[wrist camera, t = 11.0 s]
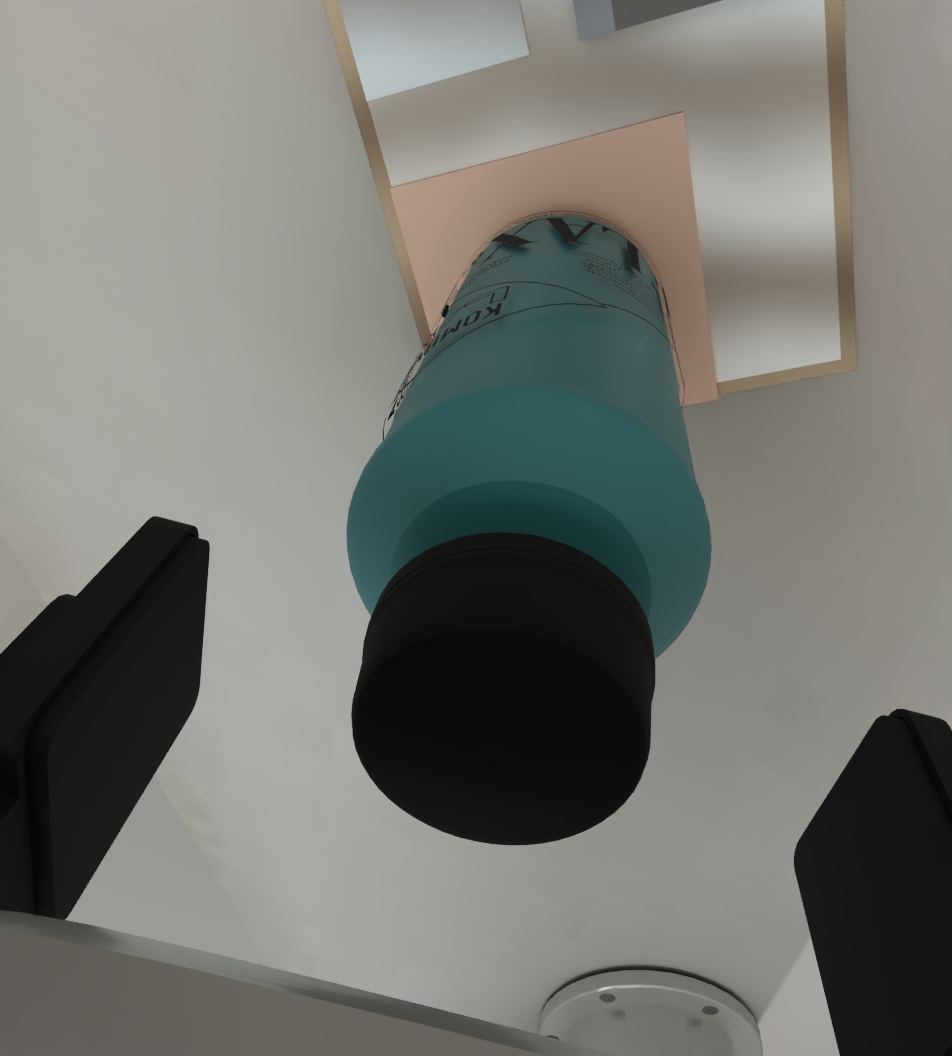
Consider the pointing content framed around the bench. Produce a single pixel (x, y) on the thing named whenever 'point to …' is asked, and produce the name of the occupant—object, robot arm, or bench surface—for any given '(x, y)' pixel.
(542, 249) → the beverage bottle
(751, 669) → the bench surface
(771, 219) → the wooden tray
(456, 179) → the terracotta square
